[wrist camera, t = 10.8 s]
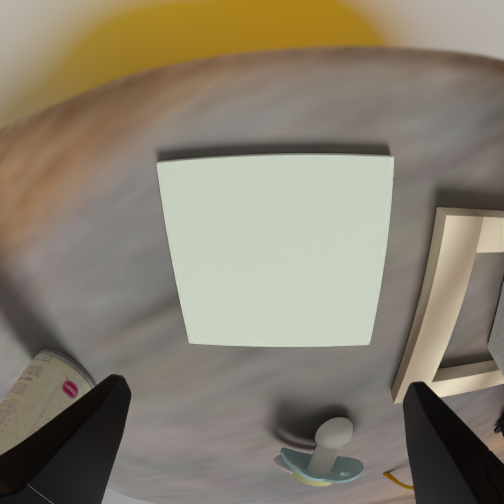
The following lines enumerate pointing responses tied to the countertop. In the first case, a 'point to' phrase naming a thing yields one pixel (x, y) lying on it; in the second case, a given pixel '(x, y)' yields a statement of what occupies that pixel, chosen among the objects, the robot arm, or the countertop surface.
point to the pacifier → (323, 457)
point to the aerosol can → (41, 395)
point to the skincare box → (498, 335)
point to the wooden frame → (449, 303)
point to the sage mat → (278, 246)
